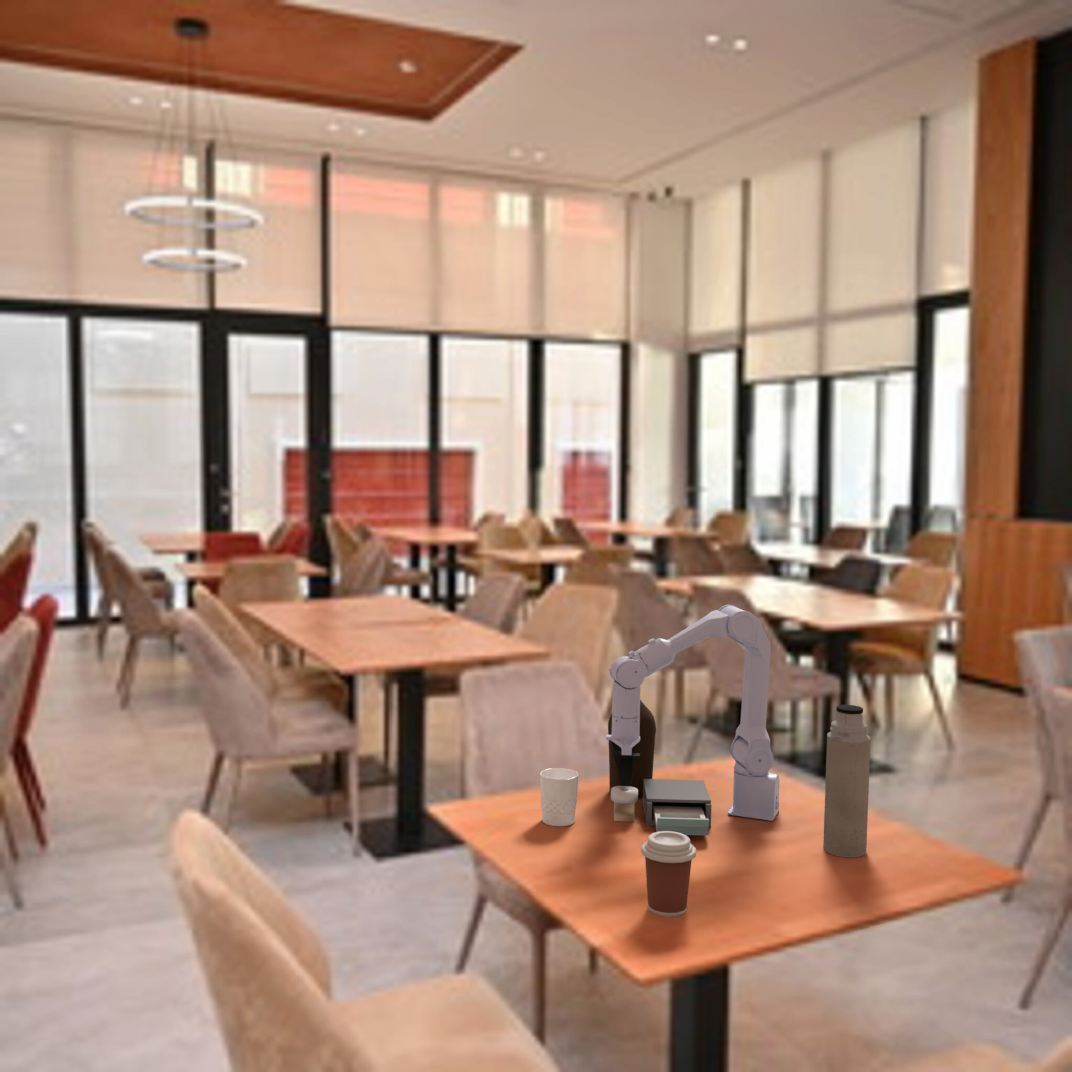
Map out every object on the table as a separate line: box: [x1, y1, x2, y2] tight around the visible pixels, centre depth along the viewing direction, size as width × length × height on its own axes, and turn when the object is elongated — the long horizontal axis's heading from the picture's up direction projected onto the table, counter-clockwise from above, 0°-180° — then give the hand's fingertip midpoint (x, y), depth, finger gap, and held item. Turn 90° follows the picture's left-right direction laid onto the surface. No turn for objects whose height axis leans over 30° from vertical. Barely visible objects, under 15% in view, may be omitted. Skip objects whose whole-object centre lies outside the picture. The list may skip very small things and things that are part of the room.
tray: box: [653, 806, 710, 836], centre depth 214 cm, size 10×12×3 cm
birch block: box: [613, 801, 635, 823], centre depth 221 cm, size 4×4×4 cm
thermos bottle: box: [822, 704, 872, 858], centre depth 204 cm, size 8×8×28 cm
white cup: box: [539, 767, 579, 827], centre depth 219 cm, size 8×8×10 cm
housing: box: [642, 778, 712, 828], centre depth 224 cm, size 13×14×5 cm
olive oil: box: [607, 699, 657, 800], centre depth 237 cm, size 11×11×25 cm
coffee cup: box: [640, 831, 697, 918], centre depth 177 cm, size 9×9×12 cm
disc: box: [610, 786, 639, 804], centre depth 221 cm, size 6×6×2 cm
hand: (624, 780), depth 221 cm, fingers open, 7 cm apart
